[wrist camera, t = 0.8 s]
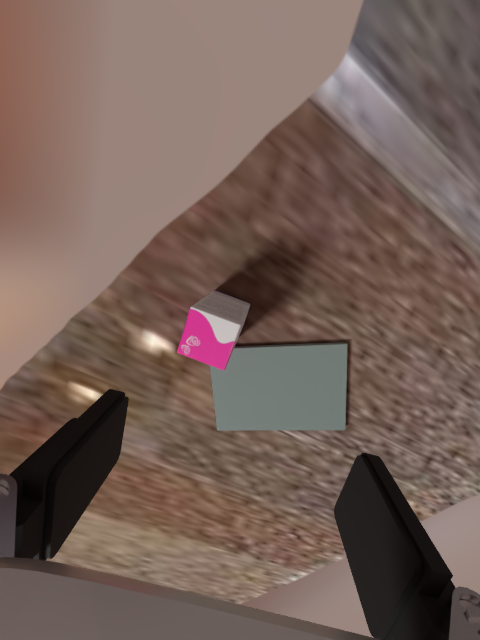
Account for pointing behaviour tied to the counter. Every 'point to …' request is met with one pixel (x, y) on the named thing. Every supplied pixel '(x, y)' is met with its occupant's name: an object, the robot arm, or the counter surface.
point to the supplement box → (213, 329)
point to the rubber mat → (282, 388)
